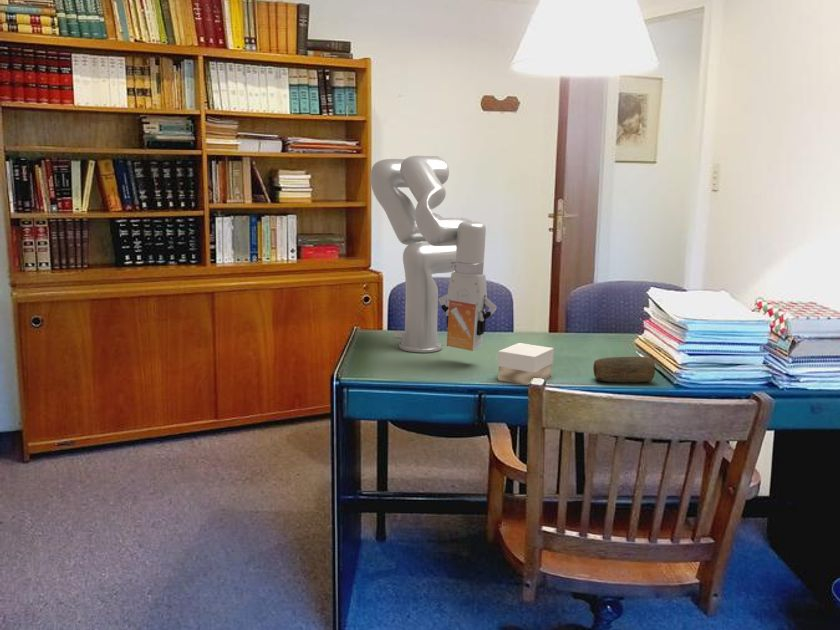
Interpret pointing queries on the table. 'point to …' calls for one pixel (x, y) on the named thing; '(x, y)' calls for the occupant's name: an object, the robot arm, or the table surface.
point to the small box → (463, 326)
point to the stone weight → (624, 369)
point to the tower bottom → (523, 374)
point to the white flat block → (525, 357)
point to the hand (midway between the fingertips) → (465, 331)
